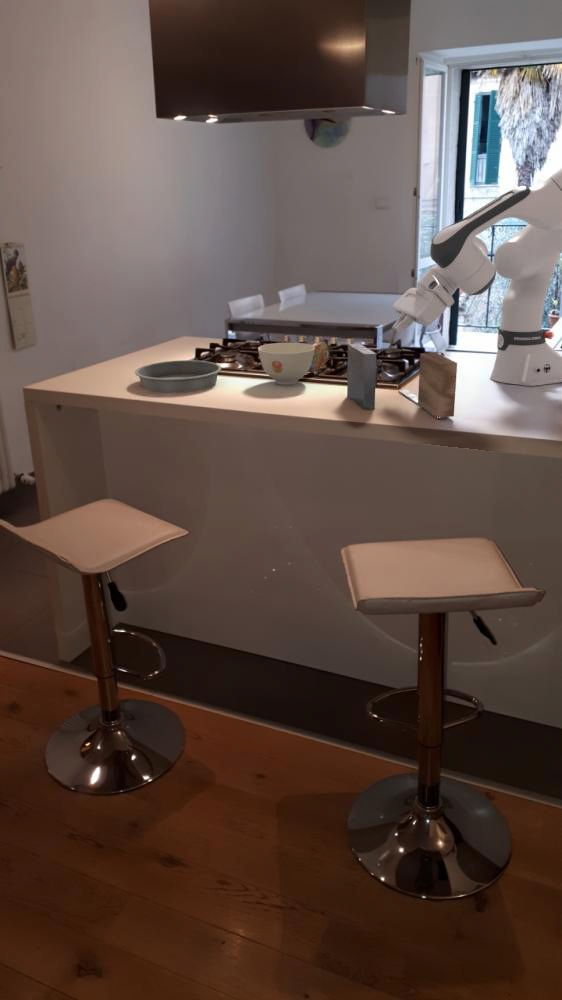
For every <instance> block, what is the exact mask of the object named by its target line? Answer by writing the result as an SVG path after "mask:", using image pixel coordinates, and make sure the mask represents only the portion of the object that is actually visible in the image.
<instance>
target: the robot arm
mask: <svg viewBox="0 0 562 1000" xmlns="http://www.w3.org/2000/svg"><path fill="white" fill-rule="evenodd" d="M509 218H510V219H511V218H513V219H514V218H515V219H519V220H521V221H523V222H524V223H528V224H526V225H525V226H524V227H523V228H521V229H520V230H519V231H517V233H515V234H514V235H513V236H511V237H510V238H508V240H506V241H505V242H502V243H501V244H500V245H499V246H498V247H497V248H496V249H495V252H494V255H493V259H492V261H493V262H492V261H491V259H490V257H489V255H488V253H489V249H488V247H487V245H486V244H485V242H484V241H483V240H482V239H481V238H479V237H478V235H479V234H481V233H482V232H484V231H486V230H487V229H489V228H491V227H493V226H495V225H496V224H497V223H499V222H501V221H502V220H505V219H509ZM430 244H431V245H430V258H431V260H432V261H433V262H435V264H434V265H433V266H431V267H430V268H429V269H427V271H426V272H425V273H424V274H423V275H422V276H421V277H420V278H419V279H418V281H417V282H416V284H415V285H416V287H410V288H409V289H407V290H406V291H405V292H404V293H403V294H402V295H401V296H400V297H399V298H397V300H396V301H395V302H394V303H393V305H392V309H393V310H394V311H395V313H397V314H398V318H397V320H396V321H395V323H394V324H393V325H392V330H394V331H395V332H396V333H399V334H401V333H402V332H403V331H404V330H405V329H406V328H408V327H410V326H411V325H413V323H414V322H415V323H417V324H419V325H421V326H423V327H428V326H430V325H432V324H433V323H434V322H435V321H436V320H437V319H438V318H439V317H440V316H442V314H443V313H444V312H445V311H446V310H447V308H450V307H451V306H453V305H454V304H455V300H454V297H453V295H454V294H455V292H456V291H457V289H460V290H461V292H463V293H464V294H466V295H467V296H478V295H482V294H483V293H485V292H486V291H487V290H488V289H490V287H491V286H492V285H493V283H494V282H495V279H496V274H498V275H499V276H500V277H502V278H504V279H507V280H510V283H509V286H508V289H507V291H506V294H505V295H504V297H503V299H502V304H501V314H500V326H499V328H498V331H497V332H498V333H497V334H498V335H497V339H496V340H497V343H496V345H497V347H496V348H497V352H496V356H495V360H494V365H493V368H492V371H491V374H490V377H489V378H490V379H491V380H492V381H496V382H499V383H503V384H511V385H512V384H513V385H521V386H528V387H535V386H542V385H551V384H556V383H557V384H559V383H562V354H560V353H559V352H557V351H556V350H555V349H554V348H553V347H552V346H550V345H549V344H548V343H547V340H546V339H548V340H552V339H553V338H554V337H555V334H554V332H553V331H549V330H547V331H546V330H544V329H542V326H543V325H542V324H543V316H544V309H545V308H544V306H545V301H546V296H547V292H548V289H549V285H550V283H551V278H552V276H553V272H554V269H555V267H556V265H557V263H559V260H560V256H561V251H562V167H561V168H560V169H559V170H557V171H556V172H555V173H554V174H552V175H551V176H550V177H549V178H547V179H546V180H544V181H543V182H542V183H539V184H537V185H534V186H529V187H528V186H525V185H521V186H517V187H514V188H513V189H511V190H508V191H506V192H505V193H503V194H501V195H500V196H498V197H496V198H494V199H492V200H491V201H490V202H488V203H487V204H485V205H483V206H482V207H480V208H478V209H477V210H475V211H474V212H472V213H470V214H468V215H467V216H466V217H464V218H462V219H461V220H458V221H456V222H454V223H452V224H450V225H447V226H446V227H444V228H442V229H441V230H439V231H438V232H437V233H436V234H435V235H434V236H433V238H432V240H431V243H430Z"/></svg>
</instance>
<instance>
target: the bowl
mask: <svg viewBox="0 0 562 1000" xmlns="http://www.w3.org/2000/svg"><path fill="white" fill-rule="evenodd" d="M312 345H313V344H308V343H303V342H275V343H267V344H263V345H260V346H259V347H258V348H257V351H258V354H259V359H260V362H261V366H262V369H263V370H264V372H265V373H266V374H267V375H268V376H269V377H270V378H271V379H273V380H274V381H275V384H277V385H281V386H292V385H296V384H298V383H299V380H300V379H302V378H303V377H304V376H305V375H307V374H308V373H307V372H308V370H309V369H310V366H311V363H312V359H313V354H314V350H315V347H314V346H312Z"/></svg>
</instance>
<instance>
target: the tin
mask: <svg viewBox="0 0 562 1000" xmlns="http://www.w3.org/2000/svg"><path fill="white" fill-rule="evenodd" d="M311 345H312V346H314V347H315V350H314V354H313V359H312V363H311V366H310V369H309V370H308V372H310V373H314V371H316V370H318V369H319V368H320V367H321V366H322V365H324V364H325V363H326V362H327V361H328V360H331V352H330V351H331V350H330V347H329V343H328V342H327V341H317V342H315V343H313V344H311Z"/></svg>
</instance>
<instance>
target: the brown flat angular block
mask: <svg viewBox="0 0 562 1000" xmlns="http://www.w3.org/2000/svg"><path fill="white" fill-rule="evenodd" d="M419 354H420V355H419V375H418V377H419V378H418V396H417V397H418V404H419V405H420V406H422V407H423V408H425V409H426V410H428V411H429V412H431V413H432V414H434V415H435V416H436V417H435V416H434V415H433V416H434V417H435V418H437V417H438V418H437V419H440V418H439V417H445V418H448V417H449V418H451V417H454V416H455V405H456V404H455V402H456V386H457V373H458V362H456V361H454V360H452V359H450V358H447V357H445V356H444V355H441V354H440V353H438V352H424V353H423V352H422V353H419ZM419 405H418V406H419ZM420 406H419V407H420ZM422 407H421V408H422ZM423 408H422V409H423ZM425 409H424V410H425ZM426 410H425V411H426ZM428 411H427V412H428ZM429 412H428V413H429ZM431 413H430V414H431ZM432 414H431V415H432Z"/></svg>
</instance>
